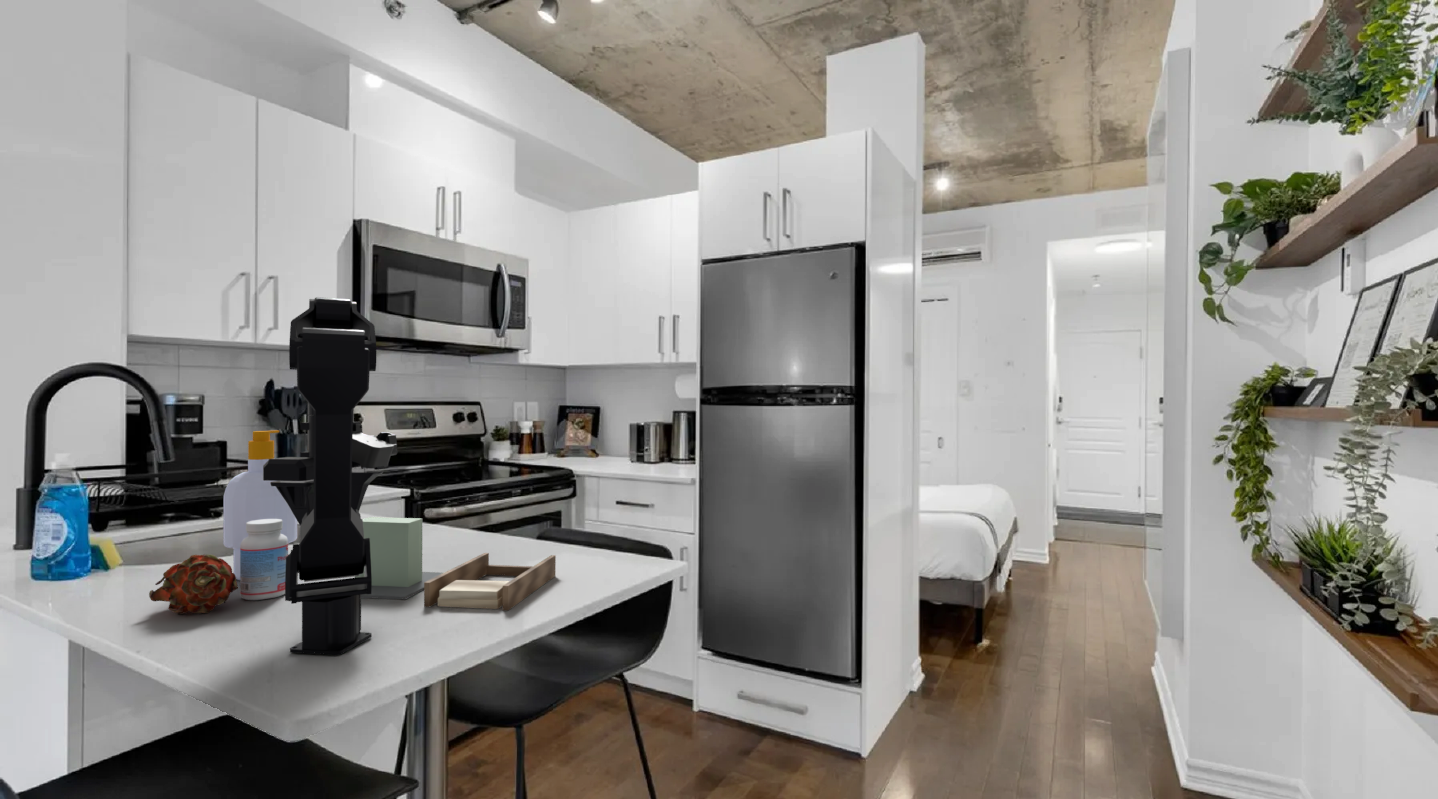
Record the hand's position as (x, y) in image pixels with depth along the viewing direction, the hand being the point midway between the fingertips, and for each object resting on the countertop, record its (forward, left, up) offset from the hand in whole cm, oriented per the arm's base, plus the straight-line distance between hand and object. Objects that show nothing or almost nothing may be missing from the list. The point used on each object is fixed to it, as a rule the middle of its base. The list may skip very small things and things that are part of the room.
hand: (330, 525), depth 99 cm
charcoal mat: (+13, -1, -12) cm, 17 cm away
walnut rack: (+12, -19, -12) cm, 25 cm away
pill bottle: (+5, +14, -12) cm, 19 cm away
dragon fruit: (-3, +18, -12) cm, 22 cm away
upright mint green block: (+13, -1, -12) cm, 17 cm away
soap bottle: (+15, +23, -12) cm, 30 cm away
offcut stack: (+6, -19, -12) cm, 23 cm away
